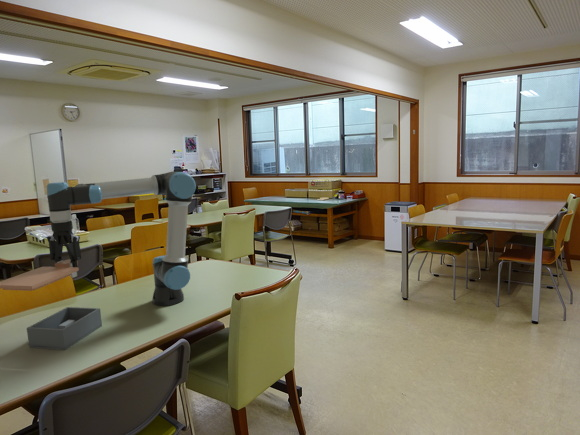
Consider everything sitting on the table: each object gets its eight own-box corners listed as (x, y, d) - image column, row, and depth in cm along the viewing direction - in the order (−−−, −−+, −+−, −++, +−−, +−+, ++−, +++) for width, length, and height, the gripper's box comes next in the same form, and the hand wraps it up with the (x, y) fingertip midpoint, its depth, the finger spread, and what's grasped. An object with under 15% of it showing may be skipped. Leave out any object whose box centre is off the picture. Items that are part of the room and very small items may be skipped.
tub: (102, 326, 178) (100, 308, 177) (65, 350, 157) (62, 330, 156) (69, 324, 182) (67, 306, 180) (29, 347, 160) (26, 328, 159)
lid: (90, 268, 171) (89, 259, 170) (32, 292, 142) (31, 282, 141) (56, 267, 174) (55, 259, 174) (-8, 291, 145) (-10, 281, 145)
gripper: (87, 219, 168) (93, 274, 172) (49, 219, 171) (55, 273, 175) (74, 222, 161) (81, 280, 164) (34, 222, 164) (42, 278, 168)
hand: (68, 276), depth 170 cm, fingers closed on lid, 5 cm apart
